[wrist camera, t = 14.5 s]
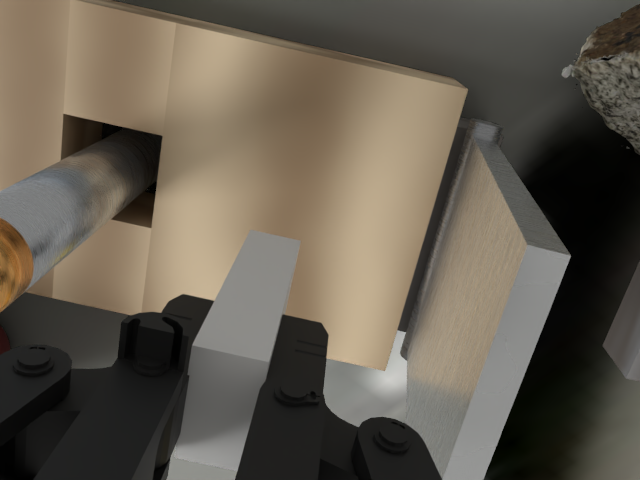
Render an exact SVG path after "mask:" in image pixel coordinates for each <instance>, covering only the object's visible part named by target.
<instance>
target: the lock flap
mask: <svg viewBox="0 0 640 480" xmlns="http://www.w3.org/2000/svg"><path fill="white" fill-rule="evenodd" d="M502 130H503V126H501V125H498V124H496V123H492V122H489V121H485V120H480V119H473V118H472V119H470V122H469V126H468V129H467V132H466V136H465V139H464V142H463V146H462V149H461V152H460V155H459V159H458V162H457V165H456V169H455V172H454V175H453V179H452V182H451V185H450V189H449V192H448V195H447V199H446V202H445V205H444V209H443V212H442V215H441V219H440V222H439V225H438V228H437V232H436V235H435V238H434V242H433V245H432V248H431V252H430V255H429V258H428V262H427V265H426V268H425V272H424V275H423V278H422V282H421V285H420V288H419V291H418V295H417V298H416V301H415V305H414V308H413V311H412V315H411V318H410V321H409V325H408V328H407V331H406V335H405V338H404V341H403V345H402V348H401V351H400V354H401V356H402V357H403V358H404V359H405V360H407V399H406V424H407V425H408V426H410V427H411V428H412V429H414V430H415V431H416V432H418V434H419V435H420V436H421V438H422V439H423V440H424V442H425V444H426V446H427V448H428V450H429V453H430V455H431V457H432V459H433V461H434V463H435V465H436V468H437V470H438V472H439V474H440V476H441V478H442V480H483V479H484V476H485V474H486V471H487V468H488V466H489V463H490V461H491V458H492V456H493V453H494V451H495V448H496V446H497V443H498V440H499V438H500V435H501V433H502V430H503V428H504V425H505V423H506V420H507V418H508V415H509V412H510V410H511V407H512V405H513V402H514V400H515V397H516V395H517V392H518V390H519V387H520V384H521V382H522V379H523V377H524V374H525V372H526V369H527V367H528V364H529V362H530V359H531V356H532V354H533V351H534V349H535V346H536V344H537V341H538V339H539V336H540V334H541V331H542V328H543V326H544V323H545V321H546V318H547V316H548V313H549V311H550V308H551V306H552V303H553V300H554V298H555V295H556V293H557V290H558V288H559V285H560V283H561V280H562V278H563V275H564V272H565V270H566V267H567V265H568V262H569V260H570V257H571V255H570V253H569V252H568V250H567V249H566V247H565V246H564V244H563V243H562V241H561V240H560V238H559V237H558V235H557V234H556V232H555V231H554V229H553V228H552V226H551V225H550V223H549V222H548V220H547V219H546V217H545V216H544V214H543V213H542V211H541V210H540V208H539V207H538V205H537V204H536V202H535V201H534V199H533V198H532V196H531V195H530V193H529V192H528V190H527V189H526V187H525V186H524V184H523V183H522V181H521V180H520V178H519V177H518V175H517V174H516V172H515V171H514V169H513V168H512V166H511V165H510V163H509V162H508V160H507V159H506V157H505V156H504V154H503V153H502V151H501V150H500V148H499V147H498V142H499V139H500V136H501V133H502Z"/></svg>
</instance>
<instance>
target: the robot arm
mask: <svg viewBox="0 0 640 480" xmlns="http://www.w3.org/2000/svg"><path fill="white" fill-rule="evenodd" d="M300 242H301V241H299V240H295V239H290V238H286V237H281V236H277V235H272V234H268V233H263V232H259V231H254V230H250V231H249V233H248V235H247V237H246V239H245V241H244V243H243V245H242V247H241V249H240V251H239V253H238V255H237V257H236V259H235V261H234V263H233V265H232V267H231V269H230V271H229V273H228V275H227V277H226V279H225V281H224V283H223V285H222V287H221V289H220V291H219V293H218V295H217V297H216V299H215V301H213V300H209V299H204V298H200V297H195V296H191V295H186V294H181V295H180V296H178V297H176V298H174V299H172V300H170V301H168V303H167V304H166V306H165V307H164V309H163V310H162V312H161V313H159V312H143V313H137V314H134V315H131V316H128V317H127V318H126V319H125V320H123V321H122V322H121V331H120V341H119V350H118V358H117V360H116V361H115V363H114V364H113V366H112V367H107V368H100V369H71V366H72V360H71V359H70V357H69V355H68V354H67V353H65V352H64V351H62V350H60V349H59V348H55V347H51V346H47V345H27V346H21V347H16V348H14V349H11V350H9V351H7V352H4V353H3V354H1V355H0V480H166V479H167V476H168V470H169V463H170V457H171V454H172V452H173V450H174V447H175V445H176V450H175V457H174V458H177V459H182V460H187V461H191V462H196V463H201V464H205V465H210V466H214V467H219V468H224V469H228V470H233V471H237V475H236V478H235V480H442V478H441V476H440V474H439V472H438V470H437V468H436V465H435V463H434V461H433V459H432V457H431V455H430V453H429V450H428V448H427V446H426V444H425V442H424V440H423V439H422V438H421V436H420V435H419V434H418V432H416V431H415V430H414V429H412V428H411V427H410V426H408V425H407V424H405V423H402V422H400V421H398V420H396V419H391V418H385V417H376V418H370V419H368V420H366V421H364V422H362V423H361V425H360V427H359V428H358V427H356V426H354V425H352V424H350V423H348V422H346V421H344V420H342V419H340V418H339V417H337V416H336V415H335V414H334V413H332V412H331V410H330V409H329V408H328V407H327V406H326V404H325V399H324V395H323V387H324V377H325V367H326V356H327V347H328V337H329V335H328V333H327V331H326V329H325V328H324V326H323V324H322V323H320V322H316V321H311V320H307V319H302V318H298V317H293V316H289V315H285V312H286V307H287V302H288V298H289V293H290V289H291V284H292V279H293V275H294V270H295V265H296V261H297V256H298V252H299V247H300ZM176 443H177V444H176Z"/></svg>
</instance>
